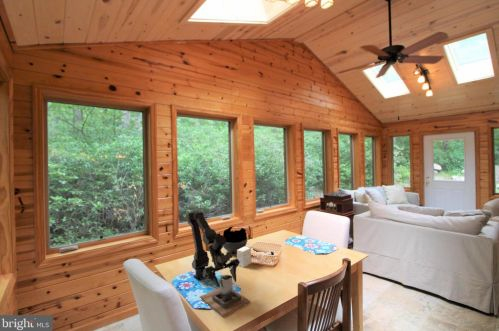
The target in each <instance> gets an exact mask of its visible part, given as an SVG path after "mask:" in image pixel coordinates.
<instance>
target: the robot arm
mask: <svg viewBox="0 0 499 331" xmlns="http://www.w3.org/2000/svg"><path fill="white" fill-rule="evenodd" d="M204 215H205V214H204V212H202V211H191V212H187V214H186V216H185V217H186V221H187V224H188V225H189V226H190V227H191V233H192V238H193V244H194V250H195V252H194V255H193V260H192V263H191V267H192V269H193V270H195V271H194V273H195V274H194V275H193V276H192V277H193V278H194V279H196V280H197V281H201V280H203V279H208V280H209V281H211V282H212V283H213V284H214V285H215V286H216V287H217V289H218V288H220V282H219V280H218V278H217V276H216V275H217V274H216V272H218V271H222V270H225V269H227V268H229V272H230V276H232V280H233V281H234V283H236V282H237V268H238V267H239V266H238V265H239V263H240V262H239V260H238V259H237V258H234V259H232V258H233V254H232V252H231V251H230V252H229V251H227V252H226V253H225V254H224V252H222V249H223V248H224V247H223V246H224V245H225V243H226V238H225V237H224V236H223V234H221V233H218V232H216V230H215V229H212V228H211V226H210V225H209V223H208V222H207V219H206V217H205V216H204ZM201 233H202V234H201ZM203 243H204V244H205V245H207V246H208V245H209V246H208V249H207V251H206V250H205V249H204V246H203ZM208 252H209V253H208ZM209 254H210V257H211V262H212V263H213V265H209V263H210V258H209Z"/></svg>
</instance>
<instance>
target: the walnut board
mask: <svg viewBox="0 0 499 331" xmlns="http://www.w3.org/2000/svg"><path fill="white" fill-rule="evenodd" d="M200 298H201V299H202V300H203V301H204V302H203V301H202V300H201V299H200ZM199 299H200V300H201V301H202V302H203V303H205V304H206V305H207V304H208V305H209V306H208V305H207V306H208V307H210V308H211V309H212V310H213V311H214V312H216V313H217V315H220V316H221V317H222V318H224V317H226V316H228V315H230V314H232V313H233V312H235V311H237V310H240V309H241V308H242V307H245V306H246V305H247V306H248V304H250V302H251V301H250V299H248V298H246V297H245V296H244V295H242V294H240V293H239V292H237V291H236V290H234V289H233V299H231V300H229V301H227V302H225V303H224V302H223V301H222V300H220V287H219V288H218V287H217V288H216V289H214V290H211V291H209V292H207V293H204V294H201V295H200V296H199Z"/></svg>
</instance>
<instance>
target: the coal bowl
mask: <svg viewBox="0 0 499 331" xmlns="http://www.w3.org/2000/svg"><path fill="white" fill-rule="evenodd" d="M222 236H224V237H225V238H226V243H225V245H224V246H223V248H224V249H225V250H226V251H227V252H230V251H231V253H234V254H235V253H236V254H237V250H238V249H240V248H242V247H244V246H245V247H247V244H248V234H247V229H246V228H243V227H240V229H237V230H236V229H235V230H233V226H230V227H228V228H226V229H224V230H223V234H222Z"/></svg>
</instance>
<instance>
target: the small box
mask: <svg viewBox="0 0 499 331" xmlns="http://www.w3.org/2000/svg"><path fill="white" fill-rule="evenodd" d="M251 252H252V249H251V247H248V246H244V247H242V248H240V249H238V250H237V252H236V259H238V260H239V262H240V263H239V265H238V266H237V267H241V268H245V267H247V266H249V265H250V264H252V253H251Z"/></svg>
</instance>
